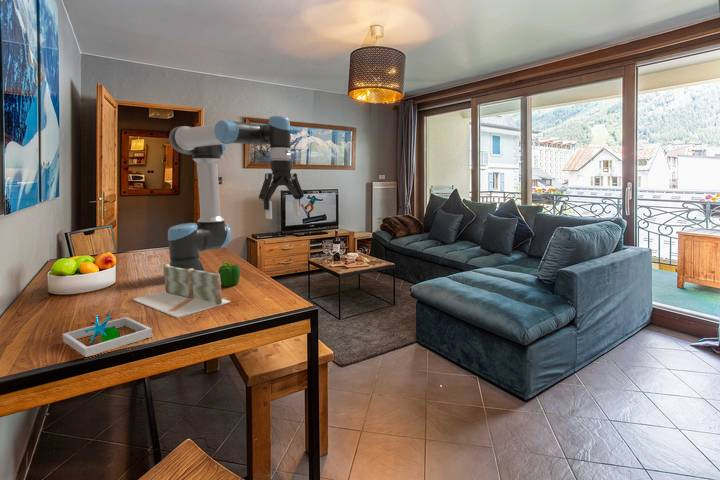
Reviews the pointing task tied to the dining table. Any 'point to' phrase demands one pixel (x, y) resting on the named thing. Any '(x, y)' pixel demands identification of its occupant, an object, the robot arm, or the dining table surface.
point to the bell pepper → (229, 274)
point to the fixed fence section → (178, 280)
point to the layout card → (176, 303)
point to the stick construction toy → (104, 330)
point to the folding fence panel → (206, 286)
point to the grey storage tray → (97, 348)
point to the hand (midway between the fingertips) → (283, 217)
